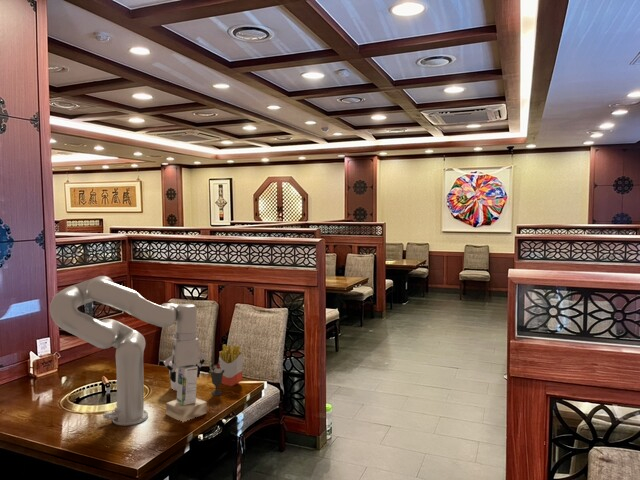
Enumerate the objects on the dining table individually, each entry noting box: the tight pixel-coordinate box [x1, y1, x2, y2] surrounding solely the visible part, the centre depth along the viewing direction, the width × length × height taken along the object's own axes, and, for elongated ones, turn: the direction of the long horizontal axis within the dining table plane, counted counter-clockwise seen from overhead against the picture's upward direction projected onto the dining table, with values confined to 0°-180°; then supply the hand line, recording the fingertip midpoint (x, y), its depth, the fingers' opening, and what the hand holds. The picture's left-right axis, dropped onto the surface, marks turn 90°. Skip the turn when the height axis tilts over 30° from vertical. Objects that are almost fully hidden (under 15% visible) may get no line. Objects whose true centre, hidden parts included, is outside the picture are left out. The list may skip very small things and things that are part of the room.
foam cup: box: [168, 361, 179, 391], centre depth 211 cm, size 10×9×13 cm
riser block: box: [165, 397, 208, 423], centre depth 185 cm, size 11×11×5 cm
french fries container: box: [218, 343, 244, 387], centre depth 217 cm, size 5×11×18 cm, turn 63°
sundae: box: [208, 360, 225, 396], centre depth 206 cm, size 7×7×15 cm
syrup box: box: [176, 365, 198, 405], centre depth 184 cm, size 6×6×14 cm
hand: (185, 378), depth 184 cm, fingers open, 9 cm apart
